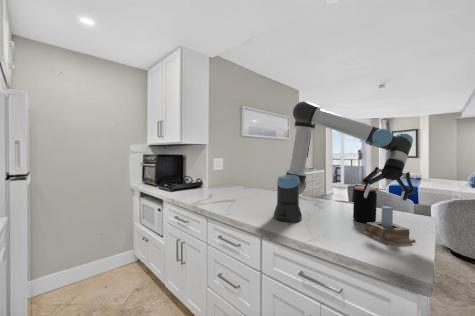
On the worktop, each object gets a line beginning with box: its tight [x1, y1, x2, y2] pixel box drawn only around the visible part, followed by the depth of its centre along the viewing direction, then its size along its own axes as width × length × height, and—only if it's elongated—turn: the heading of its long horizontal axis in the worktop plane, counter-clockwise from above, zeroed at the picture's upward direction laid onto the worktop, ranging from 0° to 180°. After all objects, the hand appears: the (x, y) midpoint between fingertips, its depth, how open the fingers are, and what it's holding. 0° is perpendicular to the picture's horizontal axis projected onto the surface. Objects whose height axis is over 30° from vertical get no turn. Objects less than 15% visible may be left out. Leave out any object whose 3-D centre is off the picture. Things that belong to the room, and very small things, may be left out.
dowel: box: [380, 205, 394, 229], centre depth 96 cm, size 4×4×12 cm
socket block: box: [360, 221, 416, 245], centre depth 97 cm, size 14×14×5 cm
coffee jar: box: [352, 185, 378, 224], centre depth 119 cm, size 11×11×18 cm
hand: (381, 201), depth 99 cm, fingers open, 13 cm apart
